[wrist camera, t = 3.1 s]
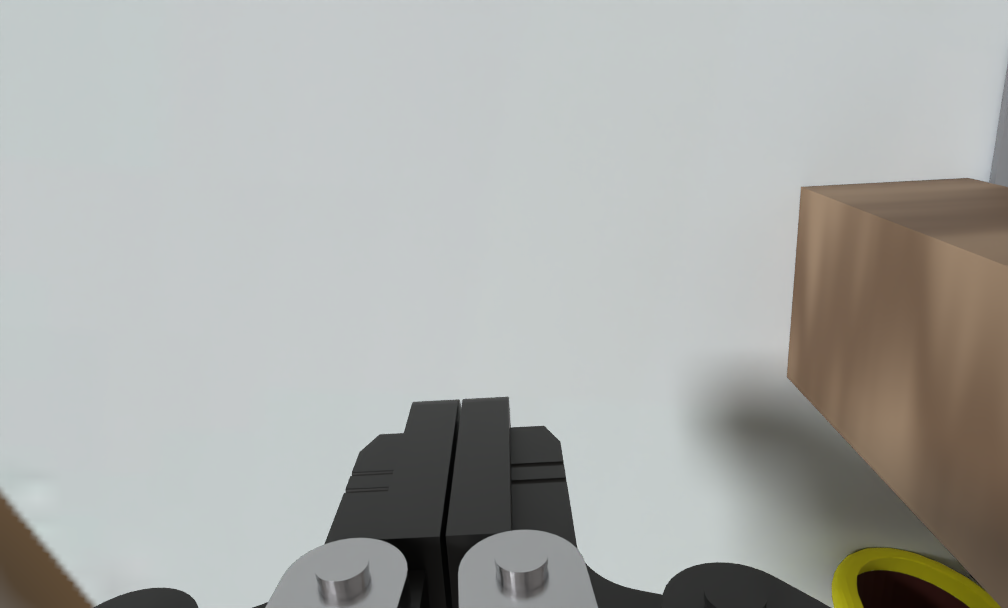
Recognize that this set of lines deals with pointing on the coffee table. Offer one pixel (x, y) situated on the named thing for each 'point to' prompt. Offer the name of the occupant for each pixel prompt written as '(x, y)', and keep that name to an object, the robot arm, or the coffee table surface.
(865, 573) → the opera glasses
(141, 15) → the coffee table surface
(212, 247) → the coffee table surface
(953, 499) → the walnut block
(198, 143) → the coffee table surface
